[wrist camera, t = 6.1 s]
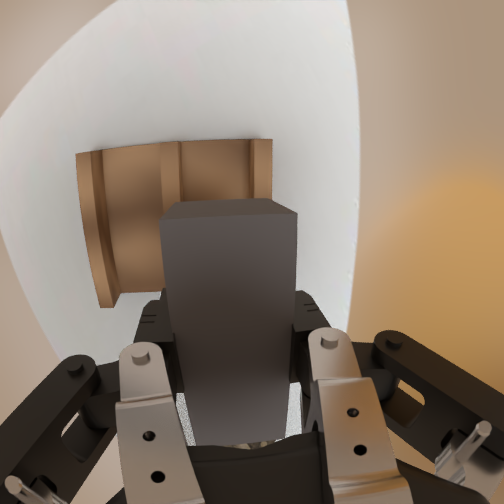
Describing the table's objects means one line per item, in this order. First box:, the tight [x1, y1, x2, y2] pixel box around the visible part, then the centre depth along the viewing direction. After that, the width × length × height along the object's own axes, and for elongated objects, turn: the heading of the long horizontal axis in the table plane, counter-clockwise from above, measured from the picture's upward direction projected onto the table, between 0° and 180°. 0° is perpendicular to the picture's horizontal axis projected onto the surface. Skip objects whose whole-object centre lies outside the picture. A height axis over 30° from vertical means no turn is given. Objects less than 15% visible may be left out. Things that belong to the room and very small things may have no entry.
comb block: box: [76, 139, 272, 308], centre depth 21 cm, size 12×14×4 cm
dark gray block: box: [159, 198, 297, 446], centre depth 11 cm, size 9×4×4 cm, turn 0°
